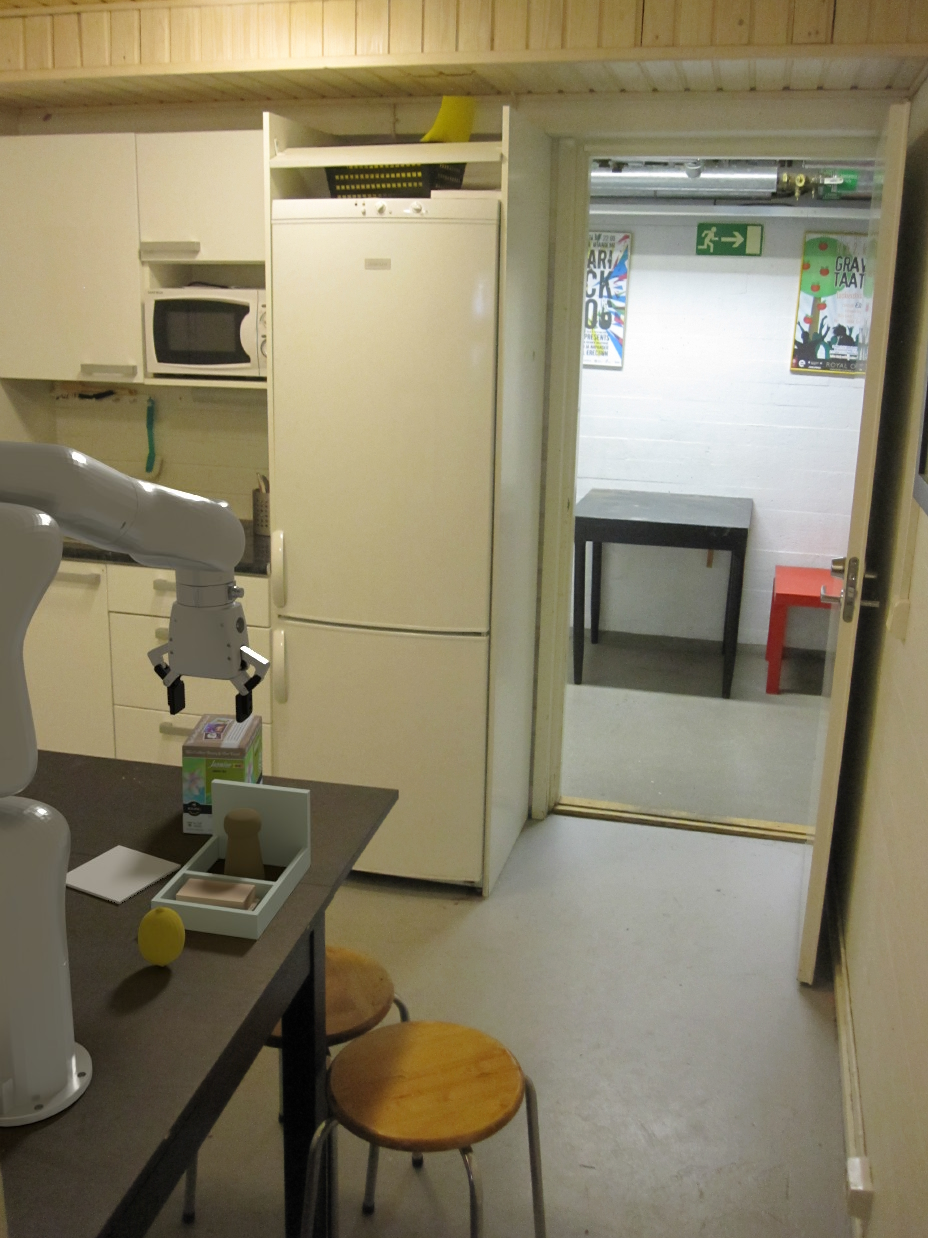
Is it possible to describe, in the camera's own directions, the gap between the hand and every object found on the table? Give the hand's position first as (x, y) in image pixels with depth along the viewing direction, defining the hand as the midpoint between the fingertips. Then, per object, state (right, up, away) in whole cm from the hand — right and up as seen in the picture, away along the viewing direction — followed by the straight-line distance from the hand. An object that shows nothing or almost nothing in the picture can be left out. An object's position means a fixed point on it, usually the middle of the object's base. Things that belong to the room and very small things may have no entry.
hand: (210, 715), depth 145 cm
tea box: (-4, -19, +27) cm, 33 cm away
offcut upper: (+1, -25, -3) cm, 25 cm away
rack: (+3, -25, +3) cm, 25 cm away
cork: (+3, -24, +6) cm, 25 cm away
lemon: (-3, -30, -14) cm, 33 cm away
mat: (-15, -23, +7) cm, 28 cm away
